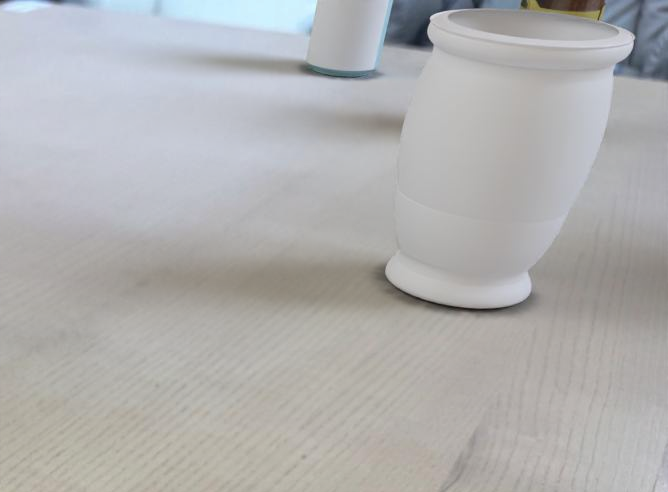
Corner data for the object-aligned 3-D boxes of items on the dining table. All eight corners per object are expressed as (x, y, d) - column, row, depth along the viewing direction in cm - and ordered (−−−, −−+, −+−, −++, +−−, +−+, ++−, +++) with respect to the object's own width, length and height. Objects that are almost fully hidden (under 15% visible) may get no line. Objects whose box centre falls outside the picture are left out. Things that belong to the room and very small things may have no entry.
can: (293, 70, 121) (318, -63, 114) (320, 58, 126) (346, -70, 119) (361, 82, 118) (391, -55, 111) (386, 69, 122) (417, -62, 115)
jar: (433, 326, 69) (513, 47, 60) (333, 262, 77) (391, 8, 68) (586, 309, 71) (684, 40, 63) (474, 249, 79) (547, 3, 71)
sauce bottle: (509, 119, 107) (584, -138, 96) (577, 135, 103) (664, -131, 92) (470, 130, 104) (544, -134, 92) (540, 147, 100) (625, -127, 88)
